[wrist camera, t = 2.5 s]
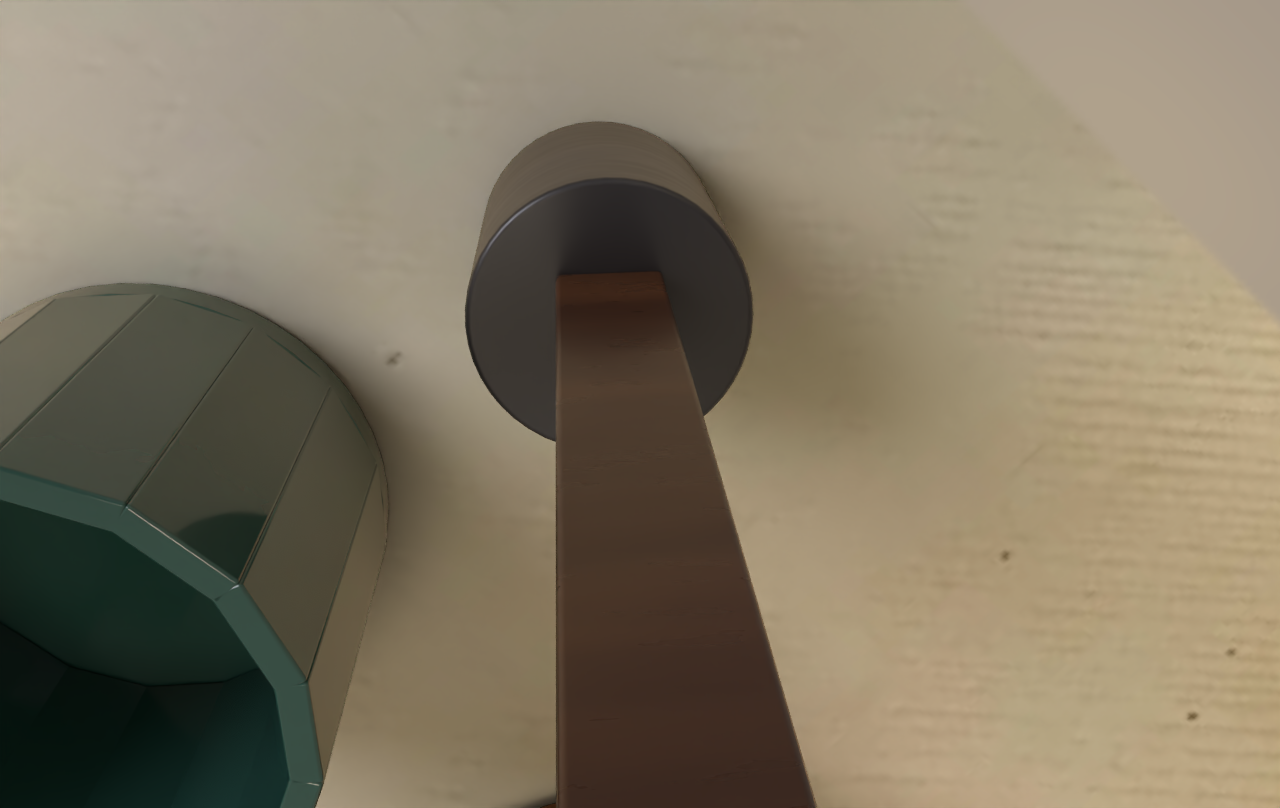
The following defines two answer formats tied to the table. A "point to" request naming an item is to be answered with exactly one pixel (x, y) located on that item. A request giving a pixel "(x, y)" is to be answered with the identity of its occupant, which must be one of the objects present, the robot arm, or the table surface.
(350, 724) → the table surface
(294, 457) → the cup
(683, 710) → the brown post with base
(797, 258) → the table surface
